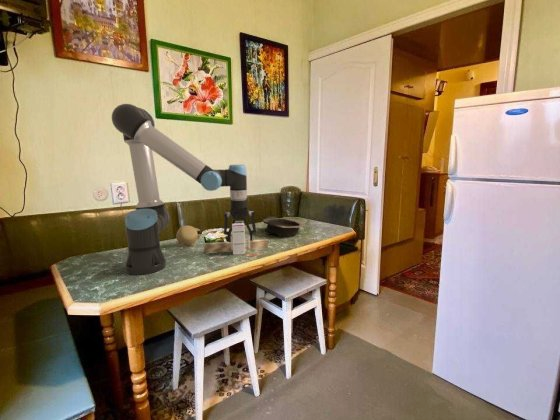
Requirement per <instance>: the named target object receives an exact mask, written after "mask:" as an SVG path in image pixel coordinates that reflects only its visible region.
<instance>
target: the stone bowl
mask: <svg viewBox="0 0 560 420" xmlns="http://www.w3.org/2000/svg"><path fill="white" fill-rule="evenodd" d="M261 221H263V222H262V223H264V224H265V225H266V228H265V232H266V234H268V235H273V234H274V235H276V236H277V237H278V238H279V237H280V238H285V237H287V238H288V237H291V236H296V235H297V233H298V232H299V230H300V228H302V227H304V226H306V223H305V222H302V221H300V220H297V219H292V218H284V217H283V218H282V217H281V218H278V217H276V216H273V215H270V216H267V217H265V218H264V219H263V218H262V219H261Z"/></svg>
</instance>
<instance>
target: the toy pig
mask: <svg viewBox="0 0 560 420" xmlns="http://www.w3.org/2000/svg"><path fill="white" fill-rule="evenodd" d="M175 236H176V241H177V243H178V244H179V245H180V246H181V247H185V246H186V247H194V245H195V244H196V242H197V241H198V240H199V239H200V238H201V237H202V231H201V229H199V228H197V227H194V226H192V225H183V226H180V228H178V229H177V231H176V234H175Z"/></svg>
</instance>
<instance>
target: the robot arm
mask: <svg viewBox="0 0 560 420" xmlns="http://www.w3.org/2000/svg"><path fill="white" fill-rule="evenodd" d="M111 121H112V124H113V127H114V128H115V129H116V130H117V131H118V132H119V133H121V134H122V136H123V141H124V143H125V144H127V145H128V148H129V153H130V160H131V165H132V172H133V176H134V181H135V188H136V194H137V199H138V200H137V201H138V202H137V204H136V205H135V210H131V211H129V212H127V214H125V217H124V218H125V220H124V225H125V232H126V240H127V241H126V242H127V249H128V254H127V257H126V261H125V267H124V268H125V272H126V273H127V274H128V275H133V276H134V275H135V276H137V275H138V276H139V275H150V274H152V273H153V274H154V273H157V272H159V271H161V270H163V269H165V268H166V267H167V260H166V258H165V255H164V253H163V251H162V249H161V245H160V244H161V243H160V234H161V233H162V232H163V231H165V230H166V228H167V227H168V225H169V221H170V215H169V213H168V211H167V209H166V207H165V202H164V201H163V200H161V199H160V192H159V186H158V179H157V173H156V168H155V160H154V154H153V152H154V153H156V154H157V155H158V156H160V157H161V158H163V159H164V160H166V161H167V162H168V163H170V164H171V165H173V166H174V167H176V168H177V169H179V170H180V171H182V172H183V173H184V174H186V175H188V177H190V178H192V179H193V180H195V181H196V182H197V183H198V184H200V185H201V186H202V188H203V189H204V190H206V191H209V192H210V191H211V192H212V191H216V190H218V189H219V188H221V187H229V198H230V210H229V211H227V212H224V214H223V216H224V227H223V235H225V236H227V242H231V250H233V242H232V224H233V223H235V221H244V225H245V227H246V228H247V231H248V233H247V241H248V248H249V249H250V241H252V240H253V235H254V234H256V233H257V228H256V222H255V211H254V210H252V211H250V210H249V208H248V199H247V198H248V185H247V183H248V182H247V180H248V179H247V178H248V177H247V167H246V166H245V164H230V165H228V169H227V168H225V169H213V168H212V167H210V166H209V165H207V164H205V163H204V162H203V161H202V160H200V159H199V158H197V157H196V156H195V155H193V154H192V153H190V152H189V151H188V150H186V149H185V148H184V147H182V146H181V145H180V144H178V143H177V142H175V141H174V140H172V138H170V137H168V136H167V135H165V134H164V133H163V132H161V131H160V130H159V129H158V128H156V127H155V120H154V118H153V116H152V115H151V114H150V113H149V112H148V111H147V110H145V109H144V108H142V107H138V106H135V105H133V104H130V103H122V104H119V105H117V106H116V107H115V108H114V109H113V110H112V112H111ZM248 214H249V217H250V220H251V226H252V229H251V227H250V224H249V222H248V220H247V216H248ZM230 215H231V217H232V220H231V223H230V226H229V229H228V223H229V222H228V221H229V217H230ZM227 230H228V231H227Z"/></svg>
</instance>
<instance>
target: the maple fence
mask: <svg viewBox="0 0 560 420" xmlns="http://www.w3.org/2000/svg"><path fill="white" fill-rule="evenodd" d="M256 250H257V251H258V250H260V251H261V250H269V240H268V239H267V238H266V239H252V241H250V249H249V248H248V240H245V251H256ZM203 252H204V254H213V253H216V254H217V253H229V252H233V250H231V242H228V241H221V242H220V241H217V242H204V243H203ZM245 256H246V258H247V257H260V253H251V254H249V253H248V254H245ZM224 257H225V256H223V255H221V256H219V255H218V256H211V257H209V260H221V259H225V258H224Z"/></svg>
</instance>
